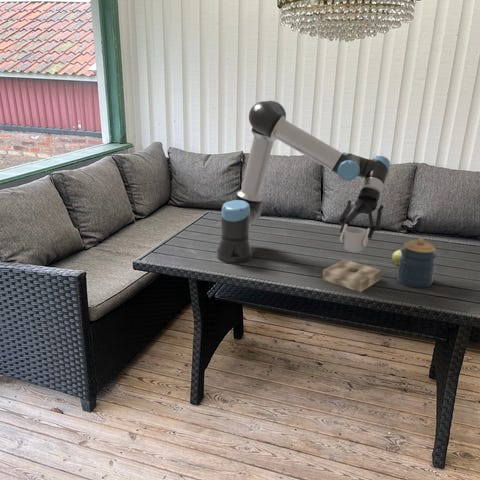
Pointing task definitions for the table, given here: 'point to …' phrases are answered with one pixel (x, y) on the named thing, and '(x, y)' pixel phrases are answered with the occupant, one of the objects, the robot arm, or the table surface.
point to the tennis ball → (396, 256)
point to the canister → (417, 264)
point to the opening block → (352, 275)
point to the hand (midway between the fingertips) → (352, 242)
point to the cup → (354, 239)
